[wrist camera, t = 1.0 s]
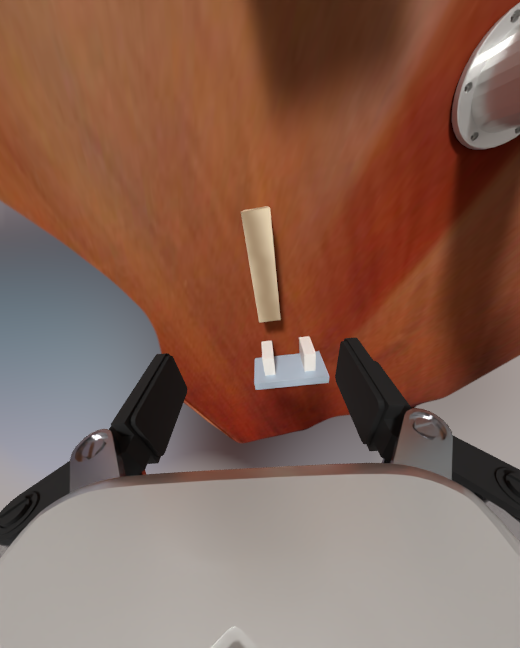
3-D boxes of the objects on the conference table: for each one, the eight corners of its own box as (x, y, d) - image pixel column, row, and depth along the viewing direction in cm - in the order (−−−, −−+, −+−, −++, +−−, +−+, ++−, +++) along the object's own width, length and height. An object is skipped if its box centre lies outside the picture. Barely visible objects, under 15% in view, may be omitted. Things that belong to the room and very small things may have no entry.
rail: (268, 206, 31) (270, 207, 26) (277, 304, 41) (280, 319, 36) (243, 210, 31) (240, 212, 26) (258, 307, 41) (258, 322, 36)
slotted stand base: (251, 342, 46) (250, 367, 39) (319, 335, 45) (330, 358, 38) (255, 364, 50) (255, 389, 43) (318, 357, 49) (328, 382, 42)
